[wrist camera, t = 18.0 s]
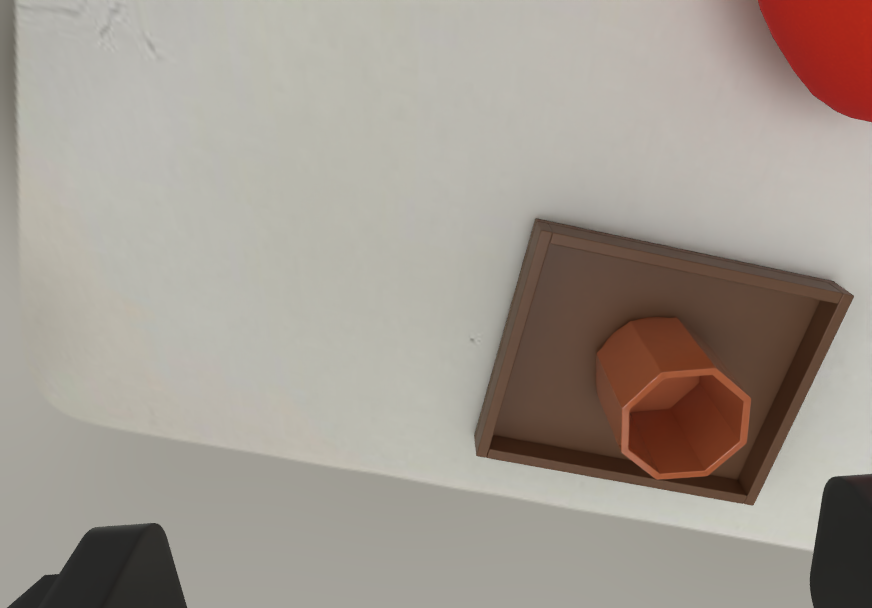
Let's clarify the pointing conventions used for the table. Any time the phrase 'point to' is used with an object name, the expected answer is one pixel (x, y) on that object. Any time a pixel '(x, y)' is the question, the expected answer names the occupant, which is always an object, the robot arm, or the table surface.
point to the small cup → (670, 399)
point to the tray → (635, 299)
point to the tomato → (827, 49)
